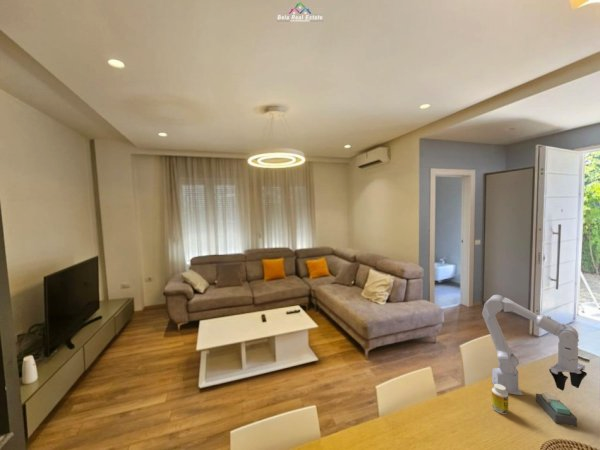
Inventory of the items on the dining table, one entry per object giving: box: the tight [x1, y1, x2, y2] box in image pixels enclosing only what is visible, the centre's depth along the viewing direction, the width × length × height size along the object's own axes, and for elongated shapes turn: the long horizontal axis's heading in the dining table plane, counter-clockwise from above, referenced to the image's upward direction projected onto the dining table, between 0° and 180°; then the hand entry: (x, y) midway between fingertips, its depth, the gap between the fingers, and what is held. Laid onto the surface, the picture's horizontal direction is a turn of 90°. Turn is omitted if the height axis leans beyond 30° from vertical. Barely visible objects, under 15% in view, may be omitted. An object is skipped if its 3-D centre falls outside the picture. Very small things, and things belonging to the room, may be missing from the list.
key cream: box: [541, 391, 561, 403], centre depth 108 cm, size 4×4×2 cm
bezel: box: [535, 393, 578, 425], centre depth 105 cm, size 7×12×2 cm, turn 164°
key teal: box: [550, 401, 571, 415], centre depth 103 cm, size 4×4×2 cm
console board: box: [535, 398, 578, 427], centre depth 105 cm, size 7×12×1 cm, turn 164°
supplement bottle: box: [491, 384, 509, 415], centre depth 108 cm, size 6×6×10 cm
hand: (567, 387), depth 106 cm, fingers open, 7 cm apart
